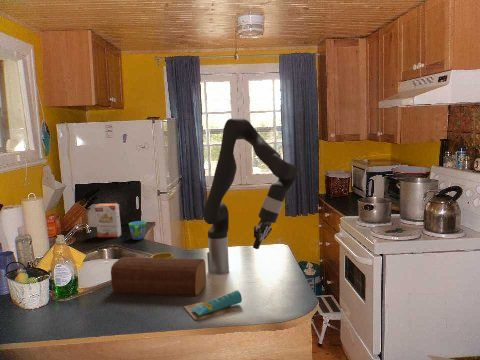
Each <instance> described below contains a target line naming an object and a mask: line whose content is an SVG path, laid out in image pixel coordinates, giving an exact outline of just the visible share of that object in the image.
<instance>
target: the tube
mask: <svg viewBox="0 0 480 360" xmlns="http://www.w3.org/2000/svg"><path fill="white" fill-rule="evenodd" d="M242 298H243V297H242V294H241V293H240V290H234V291H232V292H229V293H227V294H223V295H221V296H218V297H216V298H213V299H214V300H213V299H211V301H209V300H208V301H209V302H206V303H204V304H201V305H199V306H197V307H195V308H192V309H191V310H193V311H194V312H196V313H197V314H198V315H203V314H207V313H211V312H214V311H217V310H220V309H223V308H226V307H229V306H231V307H233V306H235V305H238V304H241V303H242V301H243V299H242Z"/></svg>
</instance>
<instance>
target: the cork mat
mask: <svg viewBox="0 0 480 360" xmlns="http://www.w3.org/2000/svg"><path fill="white" fill-rule="evenodd" d="M214 299H215V298H213V299H211V300H214ZM211 300H205V301H200V302H196V303H193V304H189V305H184V306H183V309H184V310H185V311H186V312H187V314H189V316H190V317H192V319H193V320H194V321H200V320H203V319H207V318H210V317H211V318H212V317H215V316H220V315H223V314H224V315H225V314H227V313H228V314H229V313H231V312H235V308H234V307H233V306H229V307H226V308H223V309H220V310H217V311H214V312H211V313H207V314H203V315H198V314H197V313H196V312H194V311H193V310H191V309H192V308H195V307H197V306H199V305H201V304H204V303H206V302H209V301H211Z"/></svg>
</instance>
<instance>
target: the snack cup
mask: <svg viewBox="0 0 480 360" xmlns="http://www.w3.org/2000/svg"><path fill="white" fill-rule="evenodd" d="M146 225H147V222H146V221H144V220H136V221H131V222H129V223H128V227H129V231H130V235H131V238H132V240H133V241H134V240H136V241H139V240H143V239H144V238H145V237H146Z"/></svg>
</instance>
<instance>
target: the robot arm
mask: <svg viewBox="0 0 480 360" xmlns="http://www.w3.org/2000/svg"><path fill="white" fill-rule="evenodd" d="M221 136H222V137H221V138H222V139H221V144H220V150H219V155H218V160H217V161H216V162H217V163H216V166H215V170H214V174H213V179H212V184H211V187H210V190H209V194H208V196H207V199H206V202H205V205H204V207H203V211H202V216H203V220H204V222H205V223H206V224H208V225H211V227H210V229H208V231H207V243H208V252H207V253H206V258H207V271H208V273H211V274H212V275H224V274H227V273H229V272H230V266H229V265H230V264H229V262H230V261H229V245H228V244H229V243H228V240H229V239H228V232H229V228H230V227H229V223H230V222H229V219H230V218H229V215H230V214H229V209H228V206H227V204H225V203H224V202H222V200H223V198H224V197H225V195H226V194H227V193H228V191H229V189H230V188H231V186H232V185H233V183H234V181H235V178H236V173H237V170H238V169H237V162H236V159H235V151H234V149H235V144H236V141H237V140H244V141H245V142H248V143H249V144H250V145H251V146H252V148H253V151H254V154H255V155H256V156H257V158H258V159H259V160H260V161H261V162H262V163H263V164H264V165H265V166H267V167H268V169H269V170H270V172H271V173H272V174H273V175H274V176H275V177H276V178H278V179H277V181H276V182H273V183H271V185H270V186H269V188H268V192H267V194H266V196H265V198H264V201H263V203H262V205H261V208H260V209H259V210H260V211H259V213H258V218H260V220H259V222H258V224H257V225H254V227H253V238H254V239H255V240H254V242H253V245H252V248H253V249H255V250H258V249H260V247H261V243H262V242H263V241H264V240H266V238H267V237H268V236H269V235H270V234H271V231H273V228H272V227H271V226H272V224H275V223H276V222H277V221H278V220H277V219H278V217H279V215H280V212H281V210H282V207H283V203H284V201H285V198H286V194H287V193H288V191H289V190H290V188H291V187H292V185H293V184H294V182H295V180H296V179H297V176H298V170H297V167H296V165H294V164H292V163H290V162H288V161H285V160H284V159H283V158H282V157H281V155H280V153H279V152H278V151H277V150H276V149H275V148H273V147H272V146H271V145H270V144H269V143H267V141H265V139H264V138H263V136H261V135H260V134H259V132H258V131H257V130H256V129H255V127H254V125H252V124H251V122H250V121H249V120H248V119H246V118H239V117H237V118H235V117H233V118H228V119H227V120H226V122H225V124H224V126H223V131H222V135H221Z"/></svg>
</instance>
